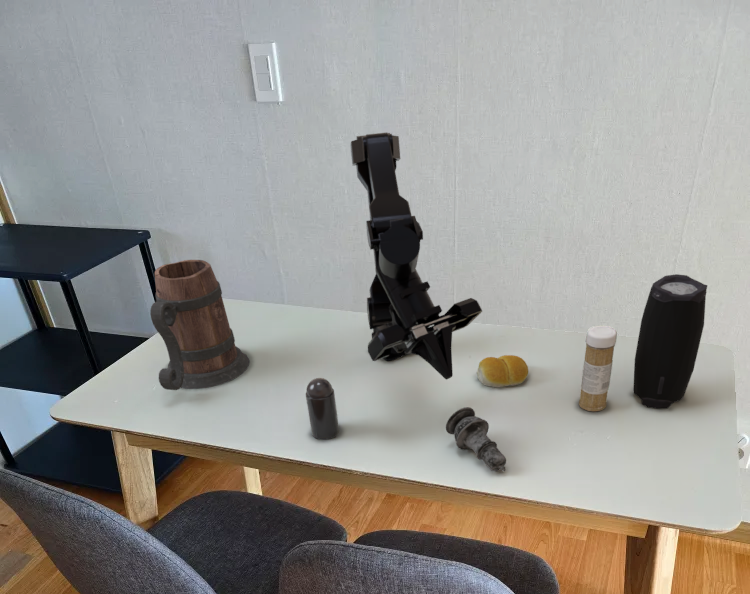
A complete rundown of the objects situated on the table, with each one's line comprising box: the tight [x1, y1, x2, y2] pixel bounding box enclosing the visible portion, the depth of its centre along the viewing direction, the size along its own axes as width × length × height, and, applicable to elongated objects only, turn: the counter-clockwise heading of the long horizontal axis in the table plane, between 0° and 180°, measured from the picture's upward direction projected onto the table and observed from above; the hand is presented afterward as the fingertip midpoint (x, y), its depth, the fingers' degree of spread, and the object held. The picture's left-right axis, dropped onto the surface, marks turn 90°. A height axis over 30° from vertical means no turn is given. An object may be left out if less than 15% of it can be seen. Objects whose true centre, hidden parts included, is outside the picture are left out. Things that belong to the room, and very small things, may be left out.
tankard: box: [149, 259, 251, 391], centre depth 130 cm, size 24×17×20 cm
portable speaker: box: [632, 273, 708, 410], centre depth 111 cm, size 9×9×20 cm
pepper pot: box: [305, 377, 340, 441], centre depth 113 cm, size 5×5×10 cm
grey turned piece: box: [445, 406, 507, 472], centre depth 106 cm, size 6×6×12 cm
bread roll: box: [476, 354, 529, 388], centre depth 125 cm, size 8×9×4 cm
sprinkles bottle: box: [578, 325, 618, 412], centre depth 112 cm, size 5×5×13 cm
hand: (449, 377), depth 108 cm, fingers closed
